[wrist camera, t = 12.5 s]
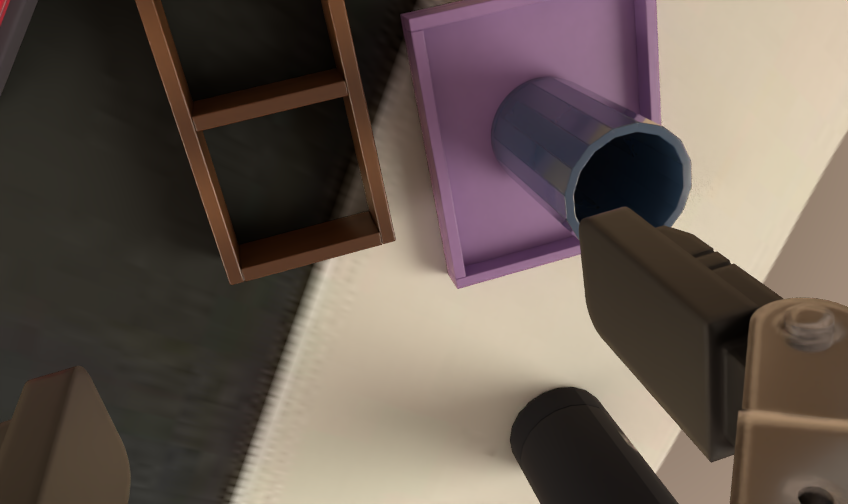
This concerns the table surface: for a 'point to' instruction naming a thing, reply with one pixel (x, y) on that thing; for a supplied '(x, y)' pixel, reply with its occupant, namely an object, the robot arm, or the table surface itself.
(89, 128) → the table surface
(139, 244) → the table surface
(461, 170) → the tray
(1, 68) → the calculator
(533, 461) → the black water bottle
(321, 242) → the rack
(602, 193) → the tumbler
